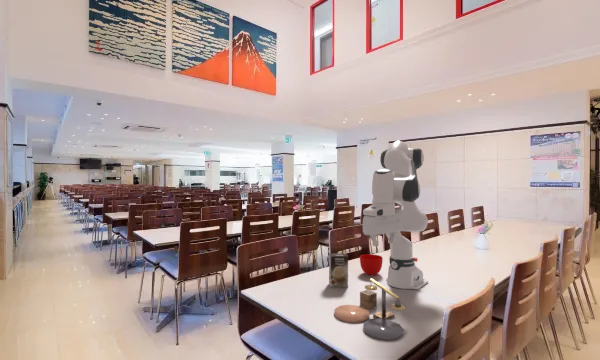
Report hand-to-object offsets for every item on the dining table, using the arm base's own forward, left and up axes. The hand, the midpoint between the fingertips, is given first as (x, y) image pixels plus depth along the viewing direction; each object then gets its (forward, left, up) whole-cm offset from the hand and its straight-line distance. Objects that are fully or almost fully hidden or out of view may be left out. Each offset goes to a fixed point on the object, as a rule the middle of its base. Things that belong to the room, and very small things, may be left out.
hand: (383, 244), depth 122 cm
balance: (0, 0, -29) cm, 29 cm away
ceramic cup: (-40, -43, -29) cm, 66 cm away
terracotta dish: (+9, -9, -29) cm, 32 cm away
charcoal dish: (+9, +7, -29) cm, 31 cm away
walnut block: (-3, -11, -29) cm, 31 cm away
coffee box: (-10, -38, -29) cm, 49 cm away
